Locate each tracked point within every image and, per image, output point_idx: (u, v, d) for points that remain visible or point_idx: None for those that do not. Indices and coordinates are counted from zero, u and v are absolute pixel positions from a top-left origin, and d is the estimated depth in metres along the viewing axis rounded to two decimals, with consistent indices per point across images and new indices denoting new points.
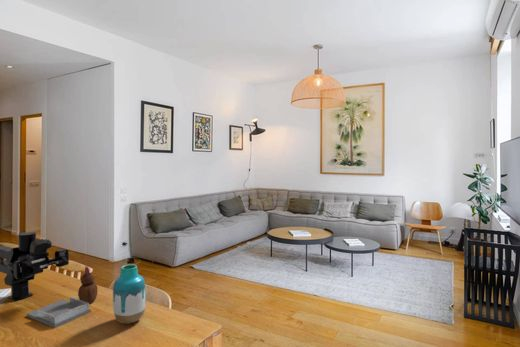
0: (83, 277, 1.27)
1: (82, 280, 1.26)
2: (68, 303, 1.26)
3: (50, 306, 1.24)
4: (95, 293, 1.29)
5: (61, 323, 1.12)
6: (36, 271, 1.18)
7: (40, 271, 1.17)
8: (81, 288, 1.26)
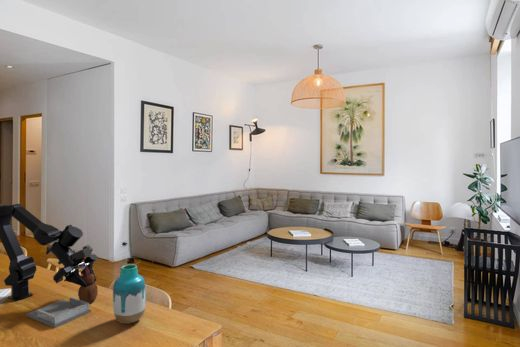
0: (83, 277, 1.27)
1: None
2: (68, 303, 1.26)
3: (50, 306, 1.24)
4: (95, 293, 1.29)
5: (61, 323, 1.12)
6: (80, 283, 1.25)
7: (84, 285, 1.26)
8: (81, 288, 1.26)
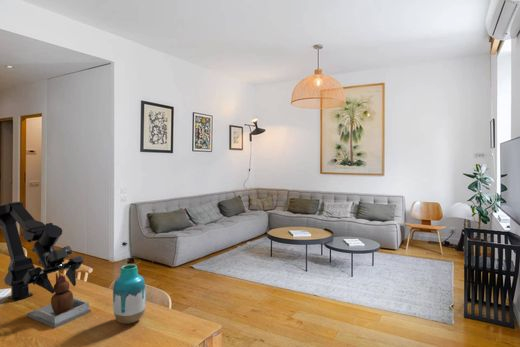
0: (55, 285, 1.17)
1: (54, 288, 1.16)
2: None
3: (50, 306, 1.24)
4: (68, 303, 1.17)
5: (61, 323, 1.12)
6: (47, 288, 1.14)
7: (51, 292, 1.14)
8: (52, 297, 1.16)
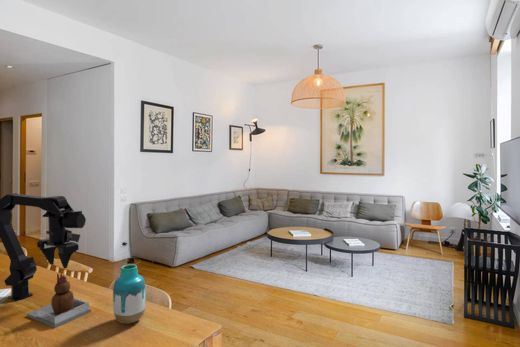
0: (56, 285, 1.16)
1: (54, 288, 1.16)
2: None
3: (50, 306, 1.24)
4: (68, 304, 1.17)
5: (61, 323, 1.12)
6: (65, 263, 1.29)
7: (65, 266, 1.30)
8: (53, 297, 1.16)
